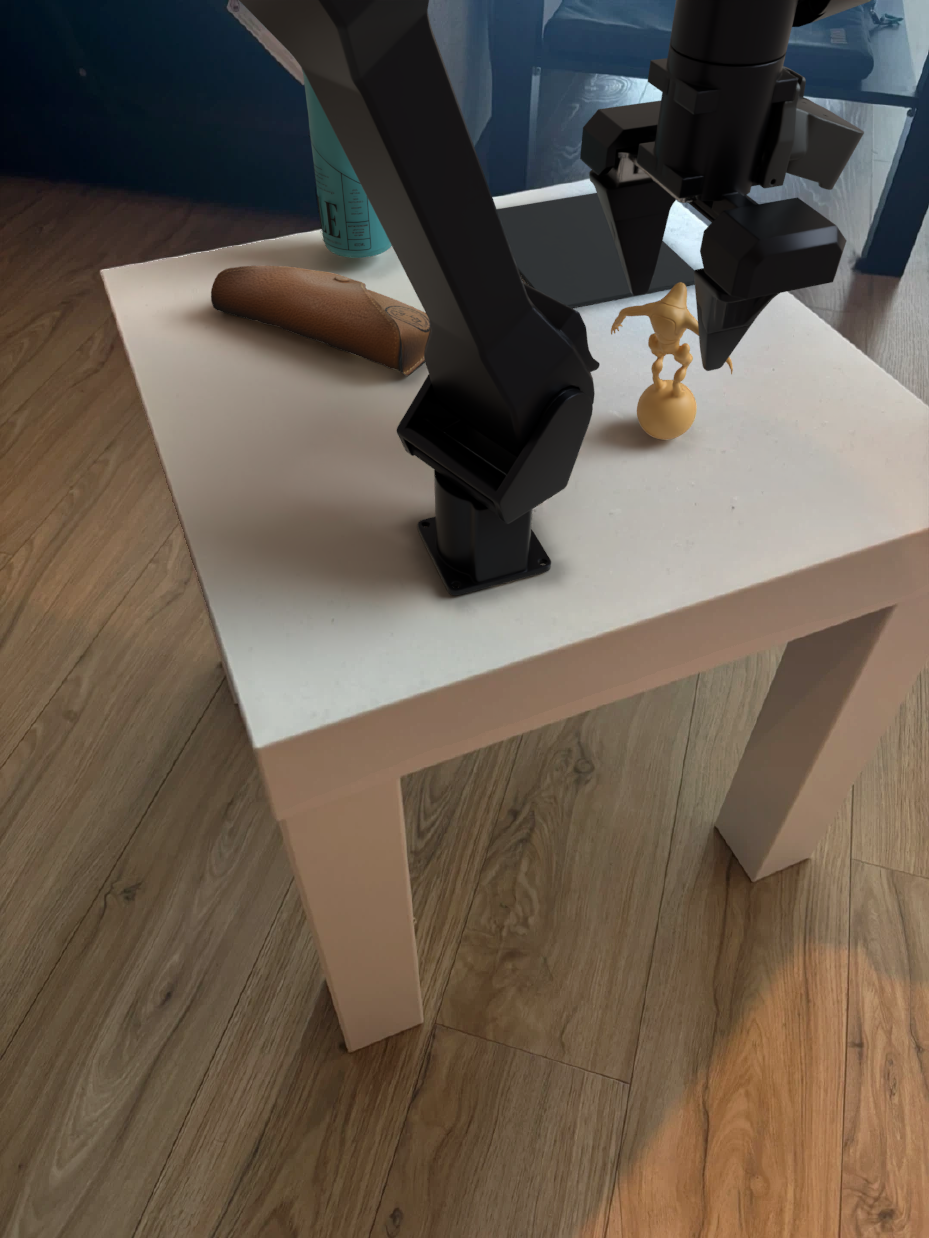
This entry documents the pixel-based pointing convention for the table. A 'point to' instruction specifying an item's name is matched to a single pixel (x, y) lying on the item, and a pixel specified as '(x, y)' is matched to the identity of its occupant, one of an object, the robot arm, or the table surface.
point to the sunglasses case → (326, 312)
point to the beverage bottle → (340, 192)
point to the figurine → (665, 401)
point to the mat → (578, 252)
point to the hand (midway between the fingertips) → (673, 329)
